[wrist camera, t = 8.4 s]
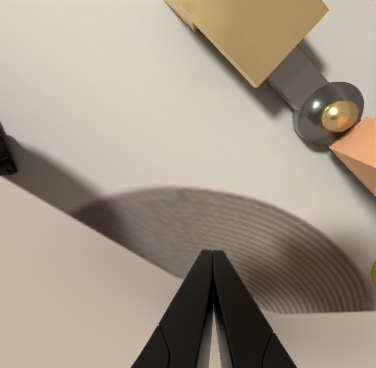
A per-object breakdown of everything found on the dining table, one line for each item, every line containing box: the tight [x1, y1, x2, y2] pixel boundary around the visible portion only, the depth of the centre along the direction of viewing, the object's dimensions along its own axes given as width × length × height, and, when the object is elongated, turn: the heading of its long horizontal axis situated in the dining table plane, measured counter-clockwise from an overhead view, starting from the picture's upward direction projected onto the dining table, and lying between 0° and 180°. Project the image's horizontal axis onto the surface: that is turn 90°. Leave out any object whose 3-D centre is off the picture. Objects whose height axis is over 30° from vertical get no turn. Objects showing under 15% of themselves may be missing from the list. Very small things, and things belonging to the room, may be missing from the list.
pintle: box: [317, 101, 358, 132], centre depth 14 cm, size 2×2×1 cm
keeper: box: [164, 0, 329, 88], centre depth 12 cm, size 9×5×4 cm, turn 49°
